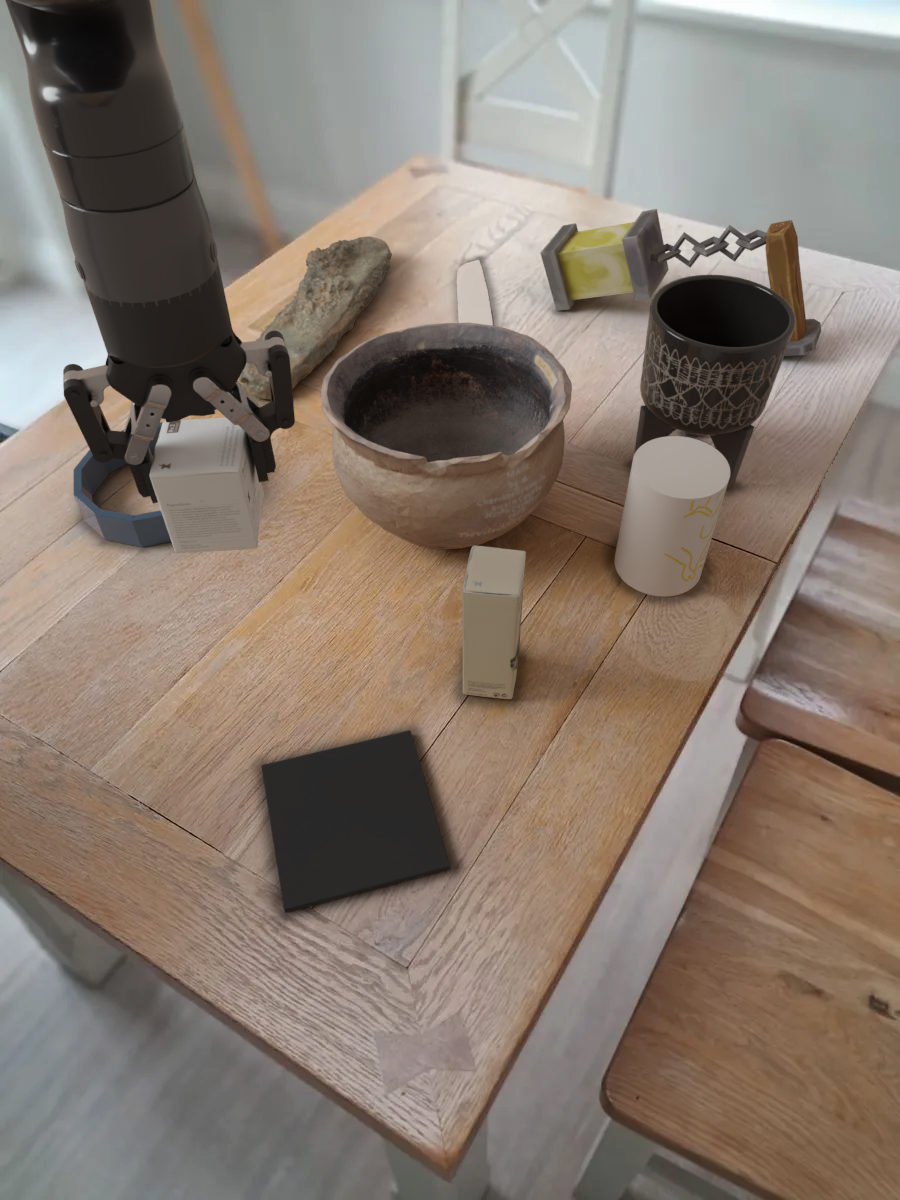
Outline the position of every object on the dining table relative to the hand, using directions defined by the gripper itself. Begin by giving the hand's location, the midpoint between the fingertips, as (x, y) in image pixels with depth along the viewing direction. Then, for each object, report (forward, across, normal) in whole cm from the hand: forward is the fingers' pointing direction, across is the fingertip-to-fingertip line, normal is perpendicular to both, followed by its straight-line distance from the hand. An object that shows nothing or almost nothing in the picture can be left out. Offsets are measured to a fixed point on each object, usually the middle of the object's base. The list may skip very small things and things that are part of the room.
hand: (209, 484), depth 63 cm
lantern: (+20, -58, -38) cm, 72 cm away
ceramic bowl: (+20, -21, -13) cm, 32 cm away
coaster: (+20, -5, +17) cm, 27 cm away
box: (+20, -19, +8) cm, 28 cm away
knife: (+20, -34, -44) cm, 59 cm away
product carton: (+4, 0, 0) cm, 4 cm away
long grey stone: (+20, -16, -51) cm, 57 cm away
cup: (+20, -38, 0) cm, 43 cm away
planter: (+20, -47, -13) cm, 53 cm away
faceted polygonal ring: (+20, +7, -24) cm, 32 cm away
